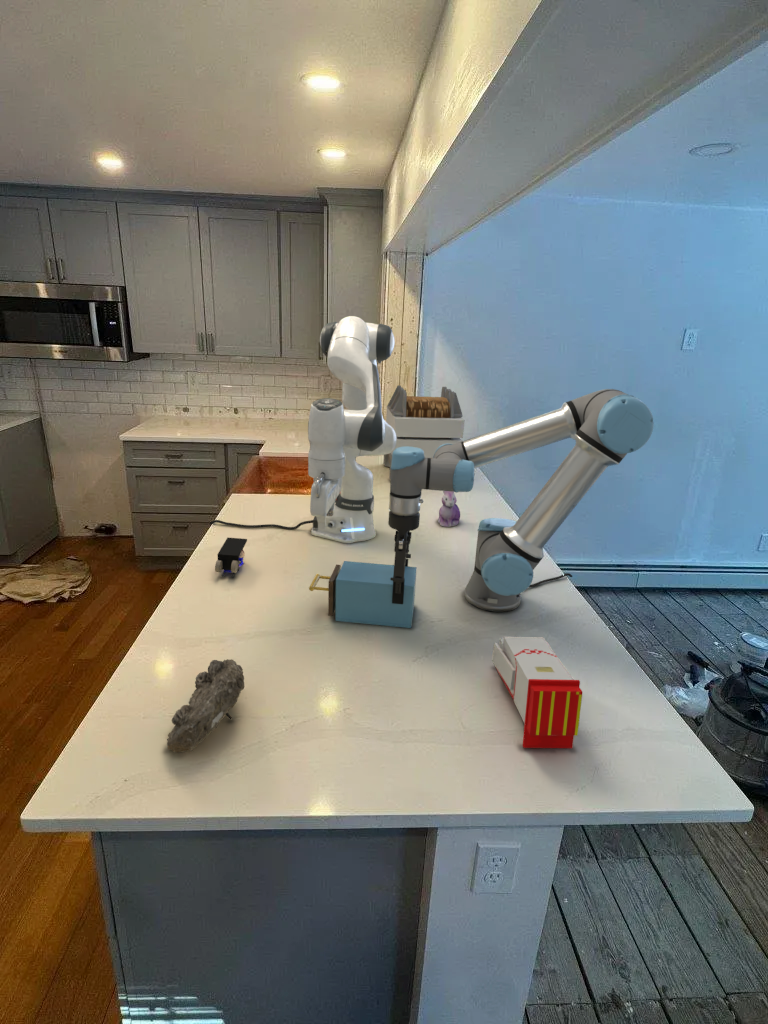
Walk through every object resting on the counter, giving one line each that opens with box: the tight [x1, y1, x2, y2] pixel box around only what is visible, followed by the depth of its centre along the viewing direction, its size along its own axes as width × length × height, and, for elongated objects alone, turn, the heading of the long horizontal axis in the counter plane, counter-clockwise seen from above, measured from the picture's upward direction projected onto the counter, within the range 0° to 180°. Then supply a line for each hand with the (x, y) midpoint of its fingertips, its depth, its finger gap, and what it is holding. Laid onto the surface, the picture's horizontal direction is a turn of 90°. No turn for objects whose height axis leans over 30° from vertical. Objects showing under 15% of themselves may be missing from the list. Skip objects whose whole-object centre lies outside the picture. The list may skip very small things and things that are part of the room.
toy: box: [491, 636, 583, 749], centre depth 115 cm, size 12×13×30 cm
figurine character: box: [214, 537, 248, 578], centre depth 166 cm, size 7×8×15 cm
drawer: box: [308, 564, 342, 617], centre depth 146 cm, size 23×10×10 cm, turn 84°
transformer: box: [383, 384, 465, 481], centre depth 268 cm, size 34×33×41 cm
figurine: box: [437, 491, 461, 528], centre depth 209 cm, size 9×10×15 cm
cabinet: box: [335, 560, 418, 629], centre depth 145 cm, size 19×11×12 cm, turn 84°
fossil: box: [166, 658, 245, 754], centre depth 106 cm, size 22×10×15 cm
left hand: (326, 521), depth 141 cm, fingers open, 8 cm apart
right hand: (399, 592), depth 144 cm, fingers closed on cabinet, 11 cm apart
